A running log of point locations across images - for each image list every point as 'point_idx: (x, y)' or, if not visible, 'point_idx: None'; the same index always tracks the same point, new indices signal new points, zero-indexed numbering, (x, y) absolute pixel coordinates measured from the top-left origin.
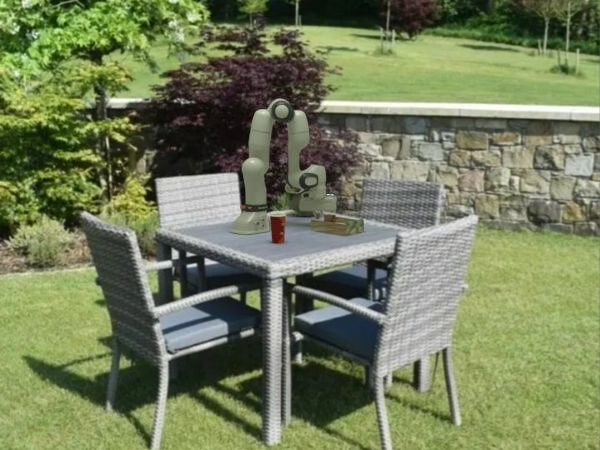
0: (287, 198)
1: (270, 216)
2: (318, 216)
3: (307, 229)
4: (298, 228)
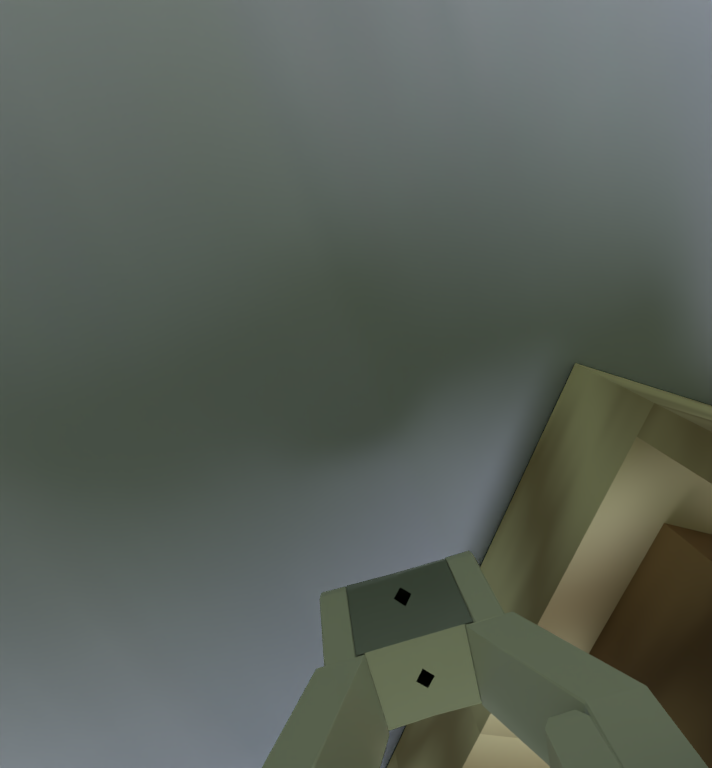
0: None
1: None
2: (459, 698)
3: None
4: (113, 731)
